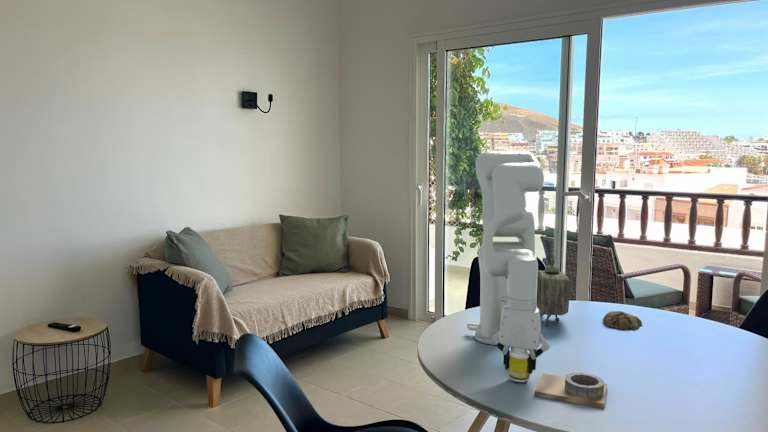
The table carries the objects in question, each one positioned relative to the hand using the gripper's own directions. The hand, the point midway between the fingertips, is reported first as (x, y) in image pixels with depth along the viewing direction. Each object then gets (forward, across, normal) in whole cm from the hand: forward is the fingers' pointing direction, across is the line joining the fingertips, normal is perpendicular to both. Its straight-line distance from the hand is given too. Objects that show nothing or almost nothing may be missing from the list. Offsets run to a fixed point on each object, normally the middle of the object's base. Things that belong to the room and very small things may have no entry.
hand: (519, 369), depth 144 cm
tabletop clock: (+5, 0, +55) cm, 55 cm away
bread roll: (+5, +23, +62) cm, 66 cm away
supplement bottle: (+3, 0, 0) cm, 3 cm away
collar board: (+3, +13, -2) cm, 14 cm away
